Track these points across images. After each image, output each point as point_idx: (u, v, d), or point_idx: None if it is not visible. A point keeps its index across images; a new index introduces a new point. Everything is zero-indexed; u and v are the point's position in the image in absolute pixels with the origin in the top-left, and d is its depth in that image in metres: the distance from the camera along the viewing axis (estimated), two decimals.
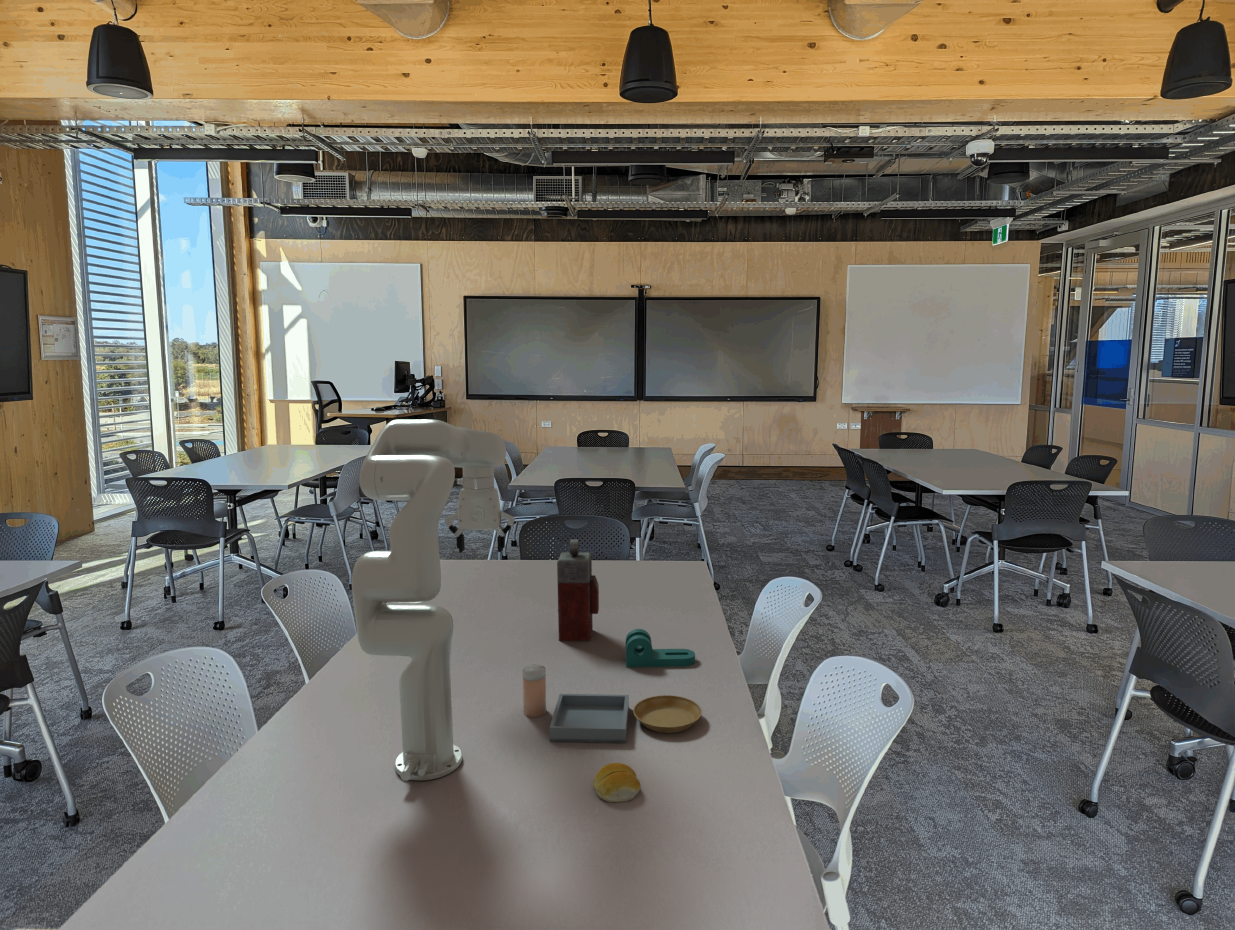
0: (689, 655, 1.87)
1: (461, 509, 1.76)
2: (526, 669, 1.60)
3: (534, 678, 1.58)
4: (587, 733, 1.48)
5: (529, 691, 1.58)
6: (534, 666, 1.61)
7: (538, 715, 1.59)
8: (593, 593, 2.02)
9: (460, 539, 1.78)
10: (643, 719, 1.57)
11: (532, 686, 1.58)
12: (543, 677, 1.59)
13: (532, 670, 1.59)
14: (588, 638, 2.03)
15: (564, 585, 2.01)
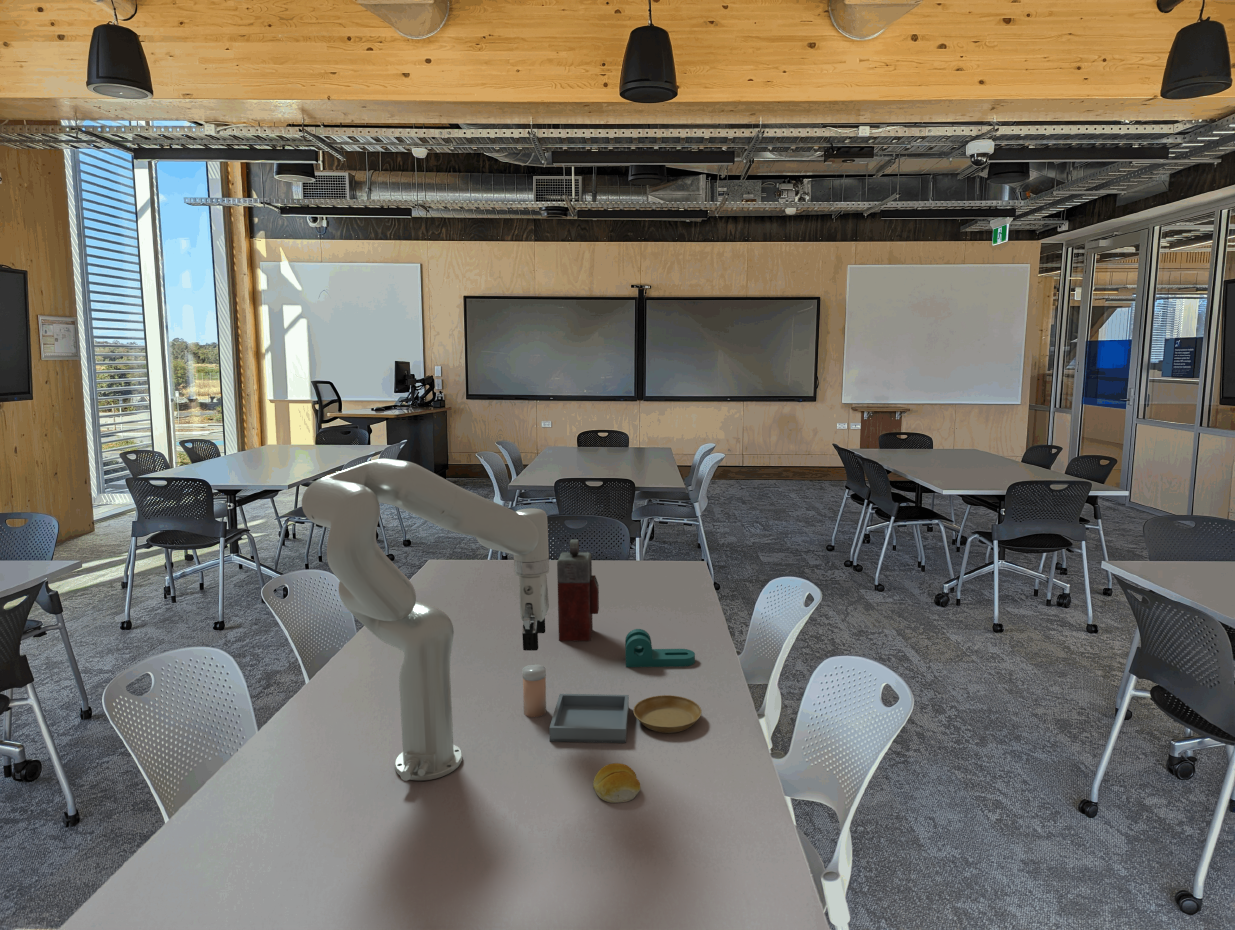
0: (689, 655, 1.87)
1: (541, 598, 1.54)
2: (526, 669, 1.59)
3: (534, 678, 1.58)
4: (587, 733, 1.48)
5: (529, 691, 1.58)
6: (534, 666, 1.61)
7: (538, 715, 1.59)
8: (593, 593, 2.02)
9: (537, 634, 1.54)
10: (643, 719, 1.57)
11: (532, 686, 1.58)
12: (543, 677, 1.59)
13: (532, 670, 1.59)
14: (588, 638, 2.03)
15: (564, 585, 2.01)
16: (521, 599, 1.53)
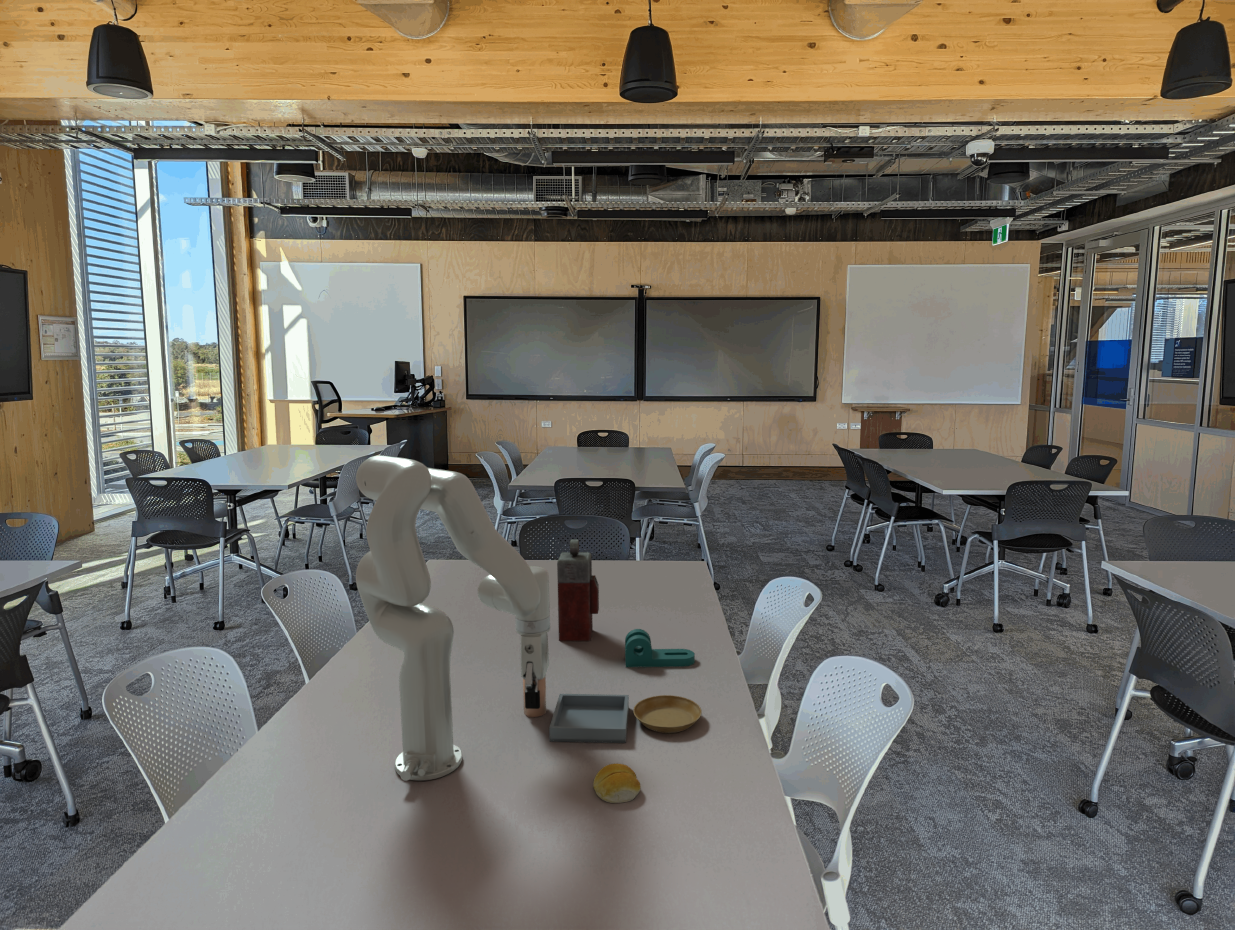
0: (688, 655, 1.87)
1: (542, 656, 1.55)
2: None
3: None
4: (587, 733, 1.48)
5: None
6: None
7: (538, 715, 1.59)
8: (593, 593, 2.02)
9: (539, 693, 1.58)
10: (643, 719, 1.57)
11: None
12: None
13: None
14: (588, 638, 2.03)
15: (564, 585, 2.01)
16: (522, 657, 1.55)
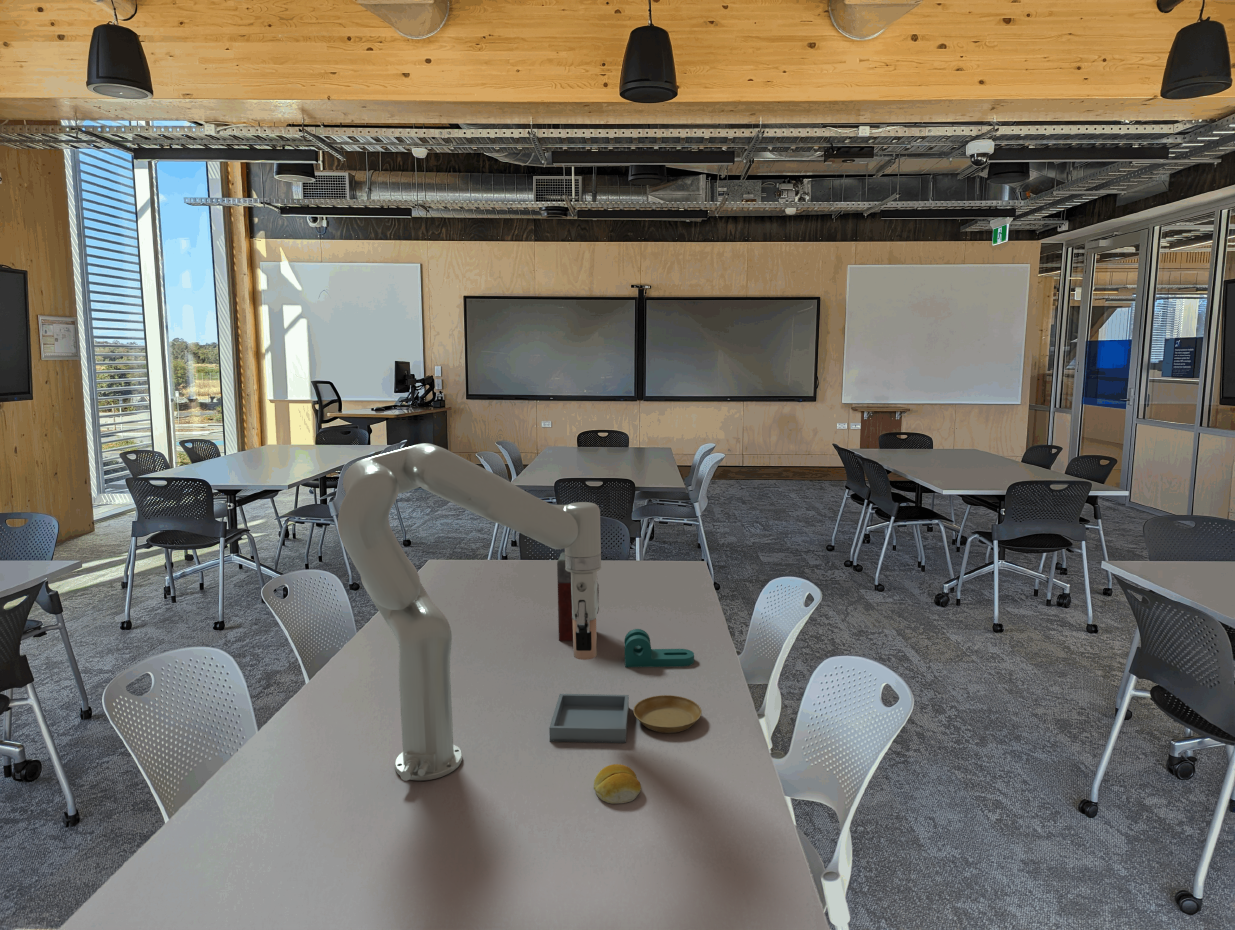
0: (688, 655, 1.87)
1: (594, 595, 1.48)
2: None
3: None
4: (587, 733, 1.48)
5: None
6: None
7: (589, 657, 1.52)
8: None
9: None
10: (643, 719, 1.57)
11: None
12: None
13: None
14: None
15: (564, 585, 2.01)
16: (574, 596, 1.48)
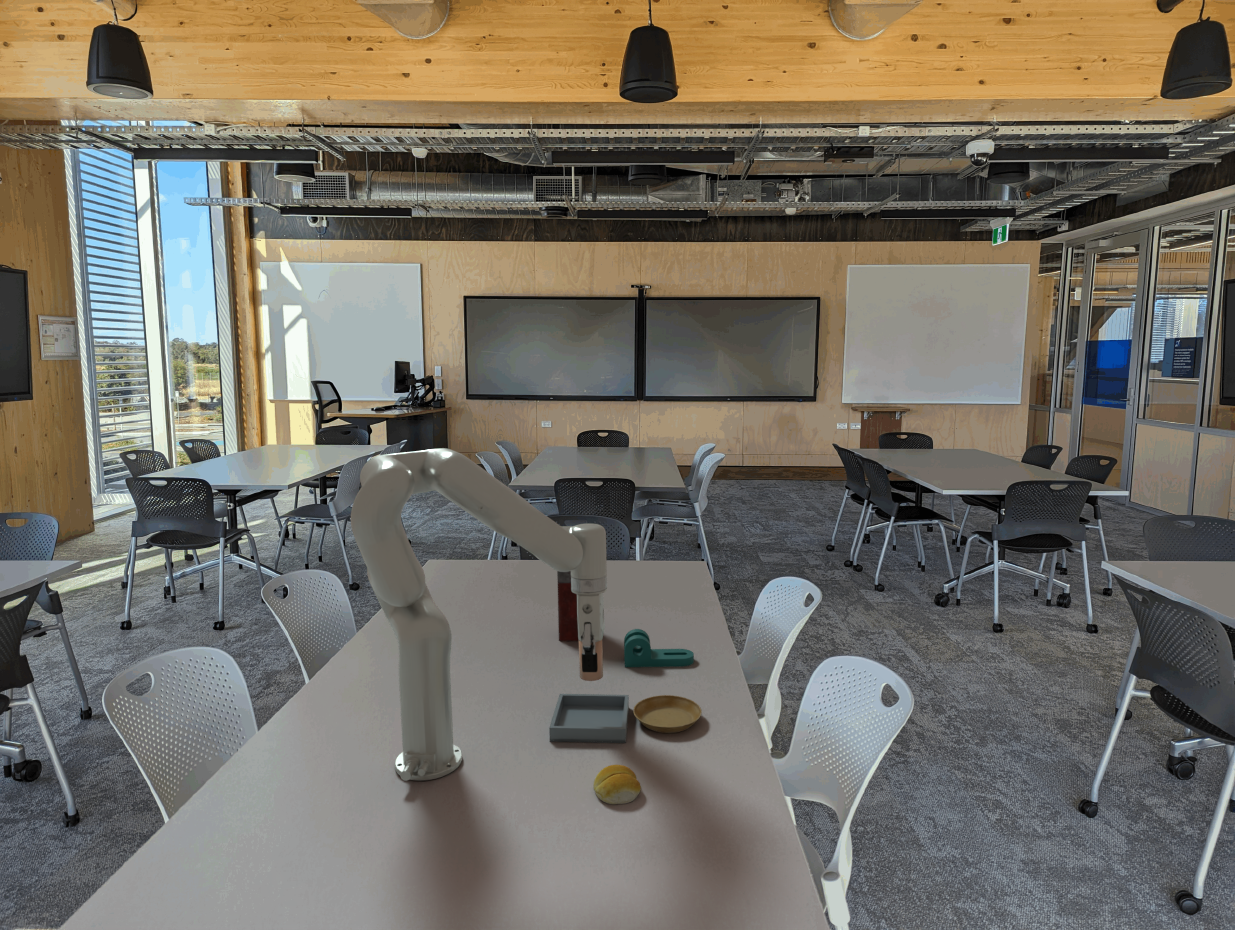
0: (688, 655, 1.87)
1: (600, 617, 1.48)
2: None
3: None
4: (587, 733, 1.48)
5: None
6: None
7: (595, 679, 1.52)
8: None
9: None
10: (643, 719, 1.57)
11: None
12: None
13: None
14: None
15: (564, 585, 2.01)
16: (579, 618, 1.48)
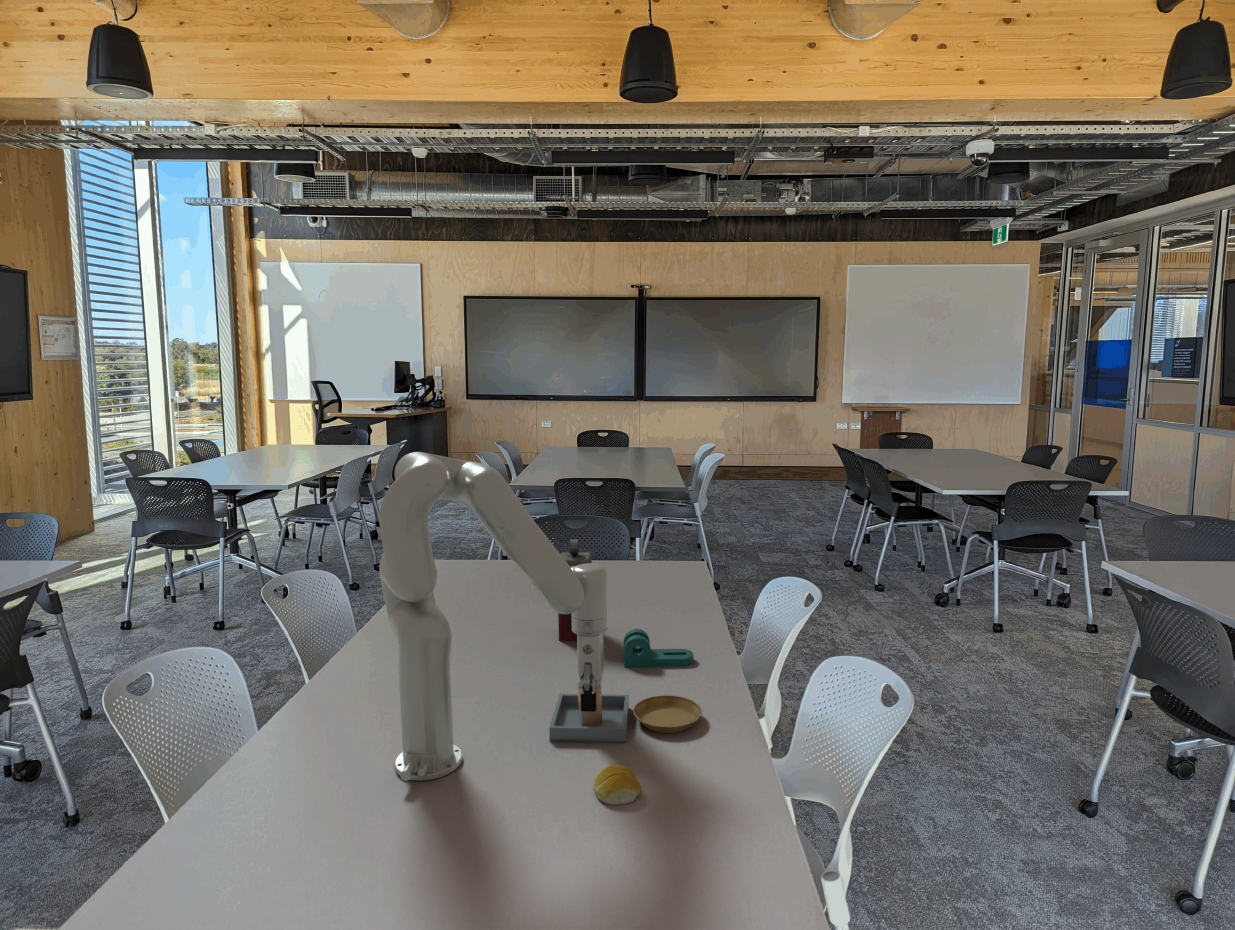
0: (687, 655, 1.87)
1: (600, 657, 1.49)
2: None
3: None
4: (587, 733, 1.48)
5: None
6: None
7: (595, 725, 1.53)
8: None
9: None
10: (643, 719, 1.57)
11: None
12: (599, 685, 1.53)
13: None
14: None
15: None
16: (580, 658, 1.49)
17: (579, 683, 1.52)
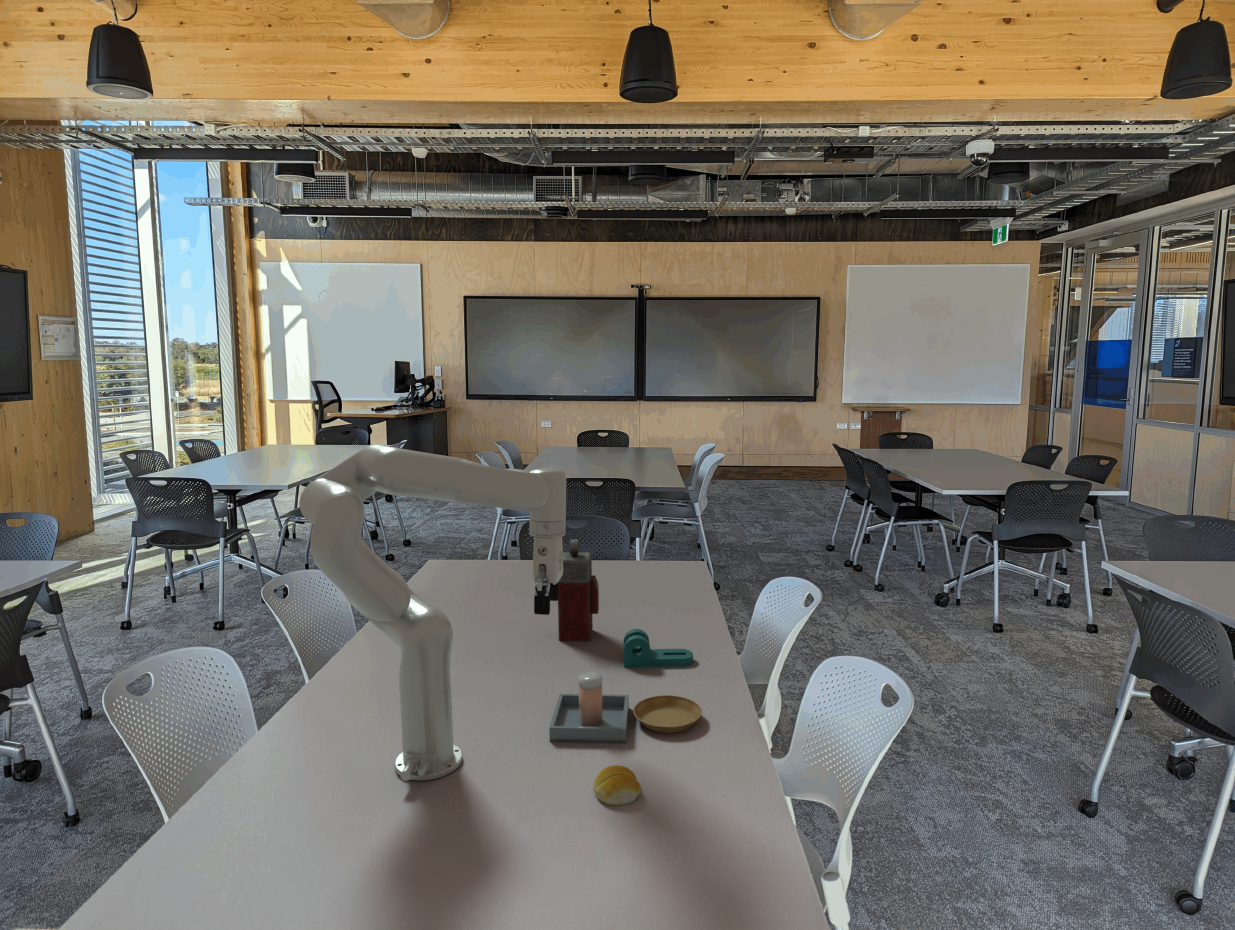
0: (687, 655, 1.87)
1: (556, 560, 1.48)
2: (582, 677, 1.54)
3: (591, 686, 1.52)
4: (587, 733, 1.48)
5: (586, 699, 1.52)
6: (590, 674, 1.55)
7: (595, 725, 1.53)
8: (593, 593, 2.02)
9: (549, 598, 1.48)
10: (643, 719, 1.57)
11: (589, 695, 1.52)
12: (600, 685, 1.53)
13: (588, 678, 1.53)
14: (588, 638, 2.03)
15: (564, 585, 2.01)
16: (535, 560, 1.48)
17: (580, 683, 1.52)
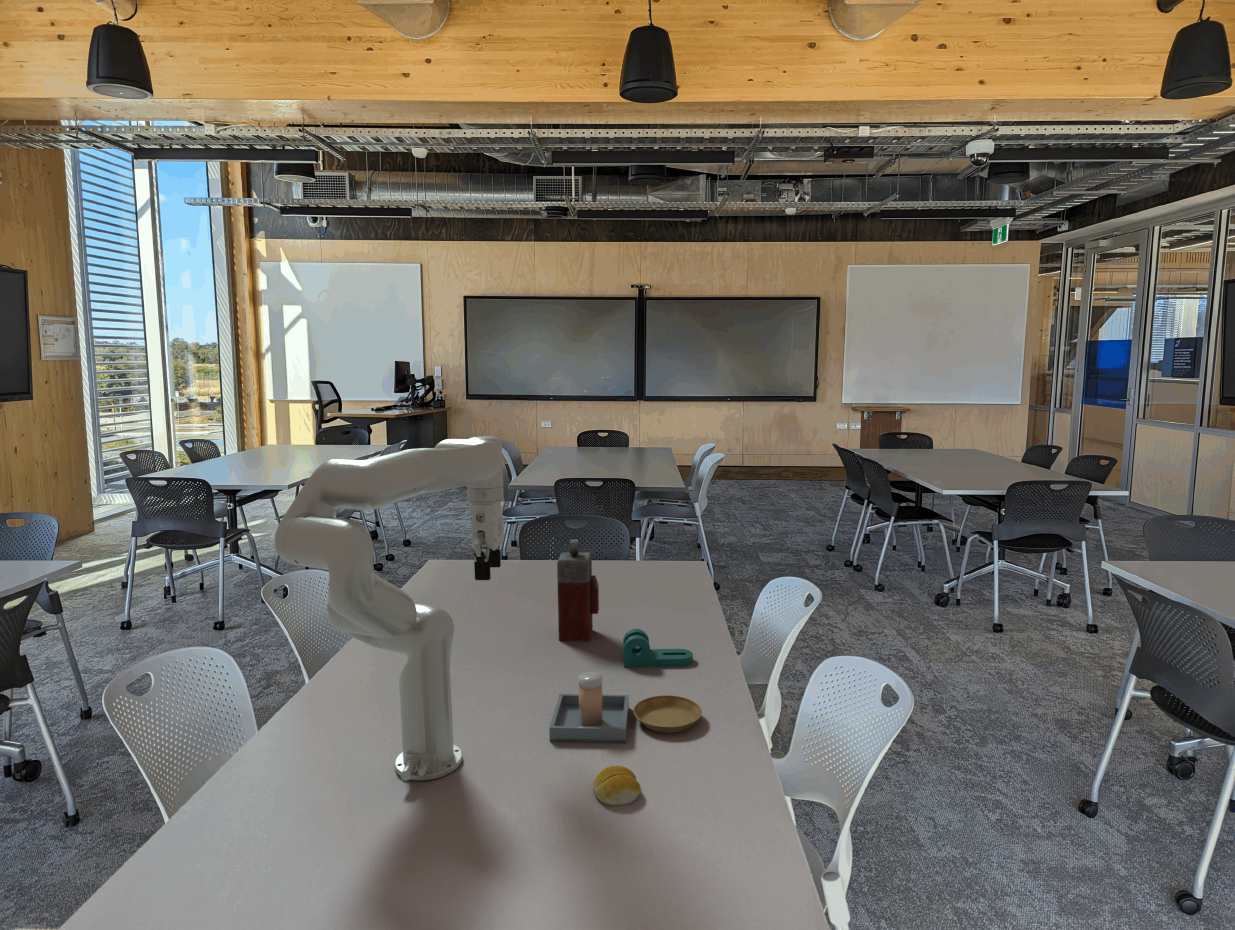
0: (687, 655, 1.87)
1: (494, 526, 1.50)
2: (582, 677, 1.54)
3: (591, 686, 1.52)
4: (587, 733, 1.48)
5: (586, 699, 1.52)
6: (590, 674, 1.55)
7: (595, 725, 1.53)
8: (593, 593, 2.02)
9: (489, 563, 1.50)
10: (643, 719, 1.57)
11: (589, 695, 1.52)
12: (600, 685, 1.53)
13: (588, 678, 1.53)
14: (588, 638, 2.03)
15: (564, 585, 2.01)
16: (473, 527, 1.49)
17: (580, 683, 1.53)
